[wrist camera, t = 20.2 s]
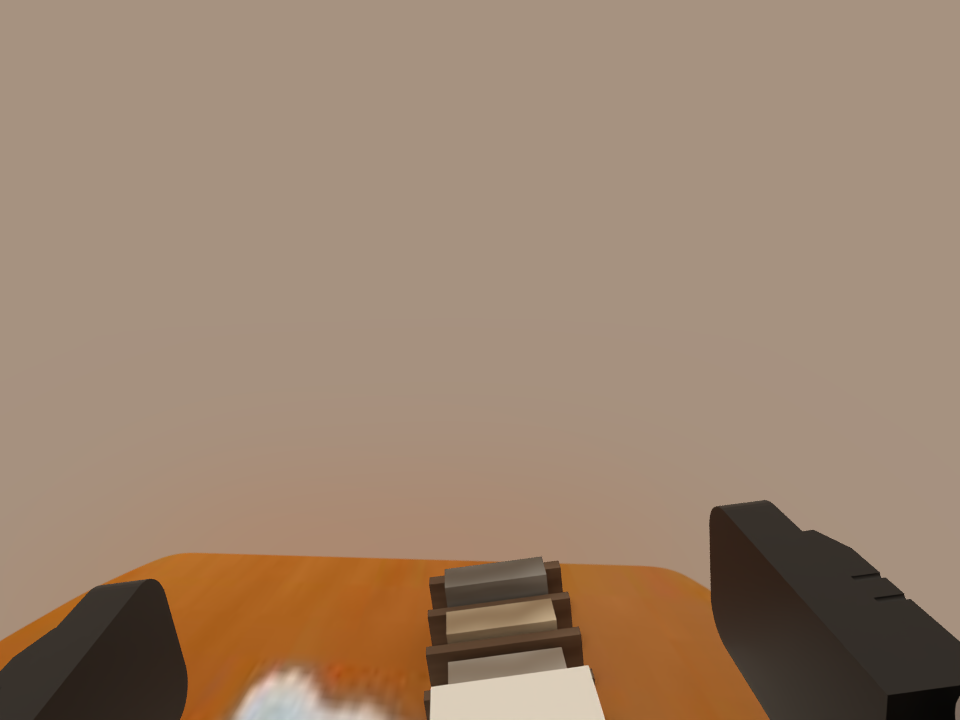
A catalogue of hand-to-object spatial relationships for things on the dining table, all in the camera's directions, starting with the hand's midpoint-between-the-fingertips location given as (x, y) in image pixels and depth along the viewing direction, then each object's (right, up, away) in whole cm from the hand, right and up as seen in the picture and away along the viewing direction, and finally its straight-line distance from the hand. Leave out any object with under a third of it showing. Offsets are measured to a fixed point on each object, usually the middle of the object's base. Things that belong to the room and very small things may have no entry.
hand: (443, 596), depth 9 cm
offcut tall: (+2, -19, +42) cm, 46 cm away
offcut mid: (+2, -20, +38) cm, 43 cm away
